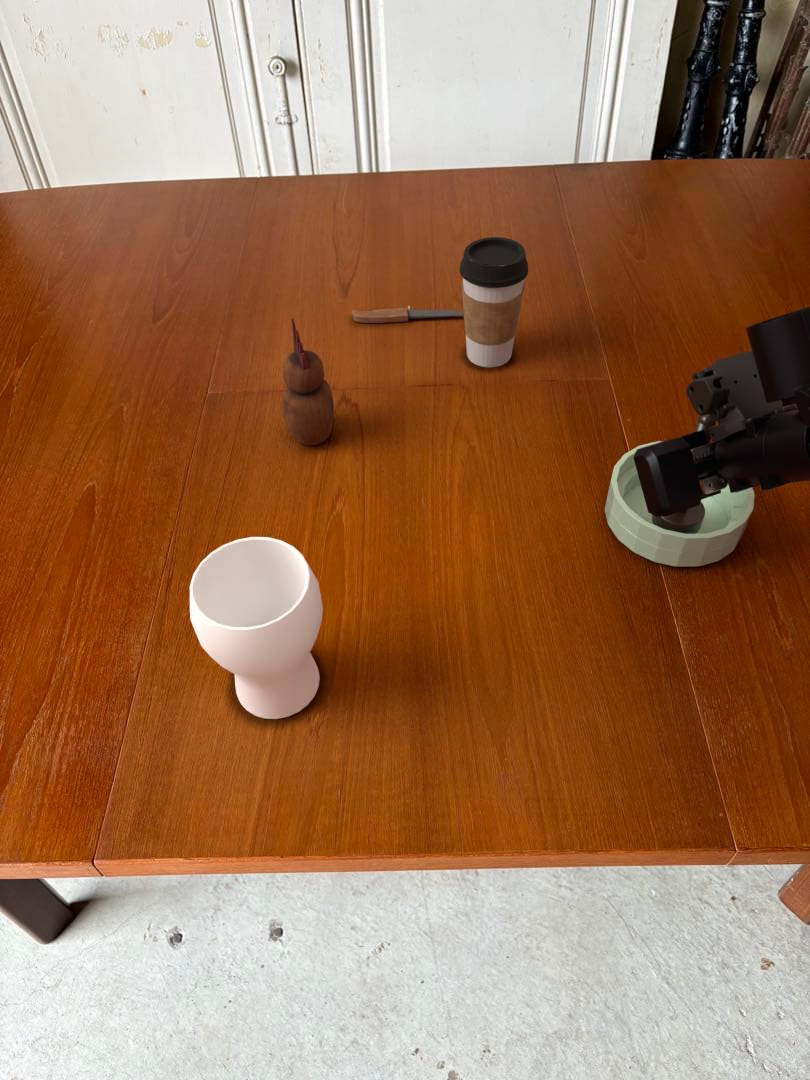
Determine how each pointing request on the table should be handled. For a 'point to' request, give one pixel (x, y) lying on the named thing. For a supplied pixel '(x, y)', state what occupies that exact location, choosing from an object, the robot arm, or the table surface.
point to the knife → (400, 315)
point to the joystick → (692, 517)
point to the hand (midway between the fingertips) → (683, 463)
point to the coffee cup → (492, 298)
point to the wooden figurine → (306, 395)
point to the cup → (260, 622)
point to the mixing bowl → (670, 547)
